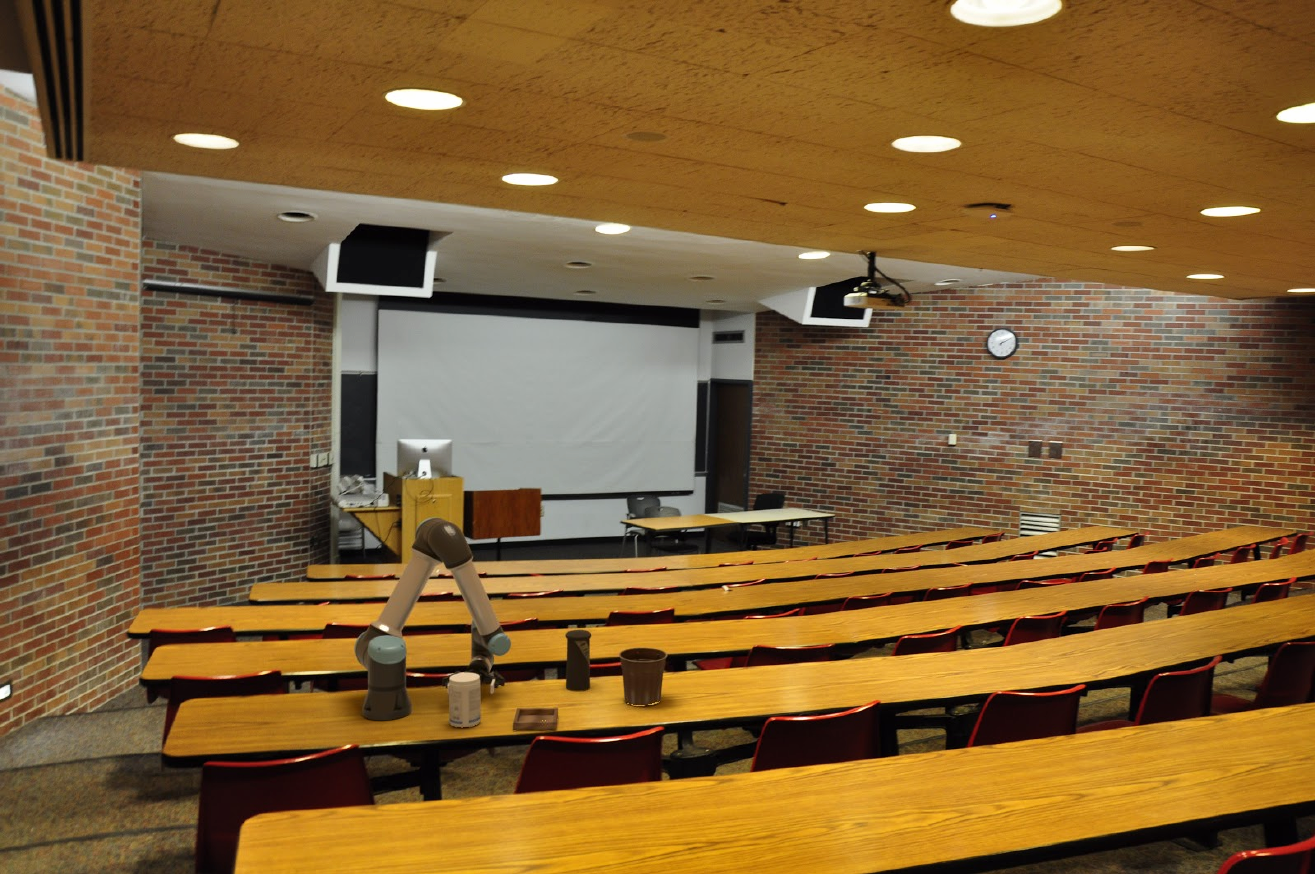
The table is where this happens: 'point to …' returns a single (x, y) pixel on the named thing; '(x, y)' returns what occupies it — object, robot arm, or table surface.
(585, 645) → the container
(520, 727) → the holder tray
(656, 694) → the plant pot
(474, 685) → the supplement tub
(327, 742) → the table surface
